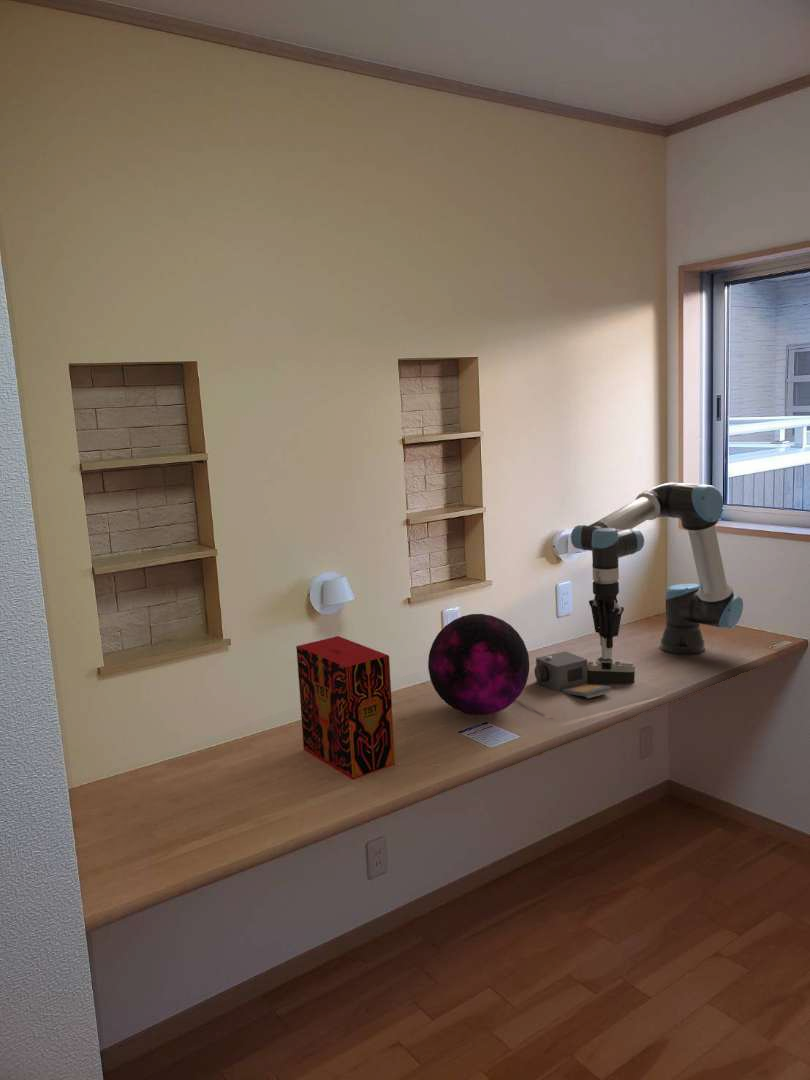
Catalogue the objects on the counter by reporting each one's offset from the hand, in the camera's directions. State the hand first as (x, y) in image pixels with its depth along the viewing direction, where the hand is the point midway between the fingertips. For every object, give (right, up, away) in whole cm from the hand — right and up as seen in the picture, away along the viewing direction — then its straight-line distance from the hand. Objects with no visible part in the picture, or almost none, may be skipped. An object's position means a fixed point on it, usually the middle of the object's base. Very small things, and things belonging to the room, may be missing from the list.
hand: (606, 657), depth 264 cm
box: (-76, -24, -25) cm, 83 cm away
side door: (-7, -12, +15) cm, 21 cm away
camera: (+6, -12, +21) cm, 25 cm away
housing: (-10, -12, +21) cm, 26 cm away
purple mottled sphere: (-38, -17, +2) cm, 41 cm away
